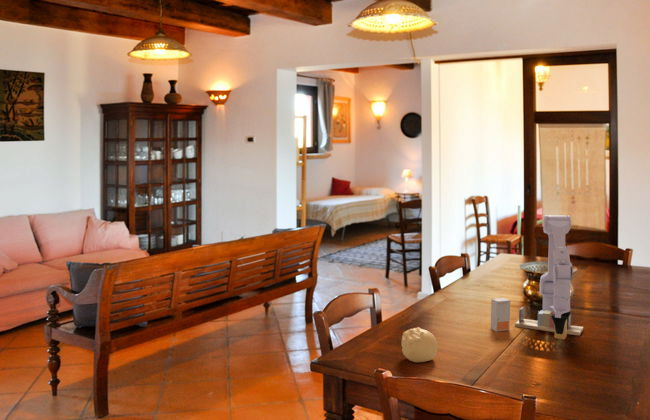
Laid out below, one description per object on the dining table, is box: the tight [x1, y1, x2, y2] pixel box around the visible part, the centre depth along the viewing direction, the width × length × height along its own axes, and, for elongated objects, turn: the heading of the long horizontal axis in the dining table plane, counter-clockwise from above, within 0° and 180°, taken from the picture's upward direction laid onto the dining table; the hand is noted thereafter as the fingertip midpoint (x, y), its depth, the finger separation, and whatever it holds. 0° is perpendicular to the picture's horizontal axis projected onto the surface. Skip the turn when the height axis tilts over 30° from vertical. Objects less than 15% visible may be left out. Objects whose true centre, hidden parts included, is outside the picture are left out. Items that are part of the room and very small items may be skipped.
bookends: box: [518, 306, 572, 330], centre depth 247 cm, size 5×18×5 cm, turn 59°
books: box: [536, 309, 555, 328], centre depth 245 cm, size 5×11×5 cm, turn 60°
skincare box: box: [490, 297, 511, 332], centre depth 244 cm, size 6×4×12 cm
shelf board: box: [514, 318, 584, 336], centre depth 246 cm, size 8×24×1 cm, turn 59°
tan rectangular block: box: [554, 320, 568, 340], centre depth 235 cm, size 4×4×7 cm
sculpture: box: [400, 326, 438, 363], centre depth 213 cm, size 12×12×11 cm
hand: (560, 331), depth 235 cm, fingers open, 5 cm apart
